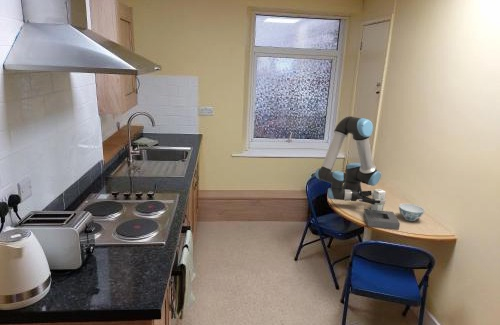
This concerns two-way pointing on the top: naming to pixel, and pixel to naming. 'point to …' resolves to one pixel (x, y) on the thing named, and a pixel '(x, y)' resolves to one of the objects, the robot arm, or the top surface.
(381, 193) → the syrup box
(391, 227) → the collar
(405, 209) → the chinaware
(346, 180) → the robot arm
